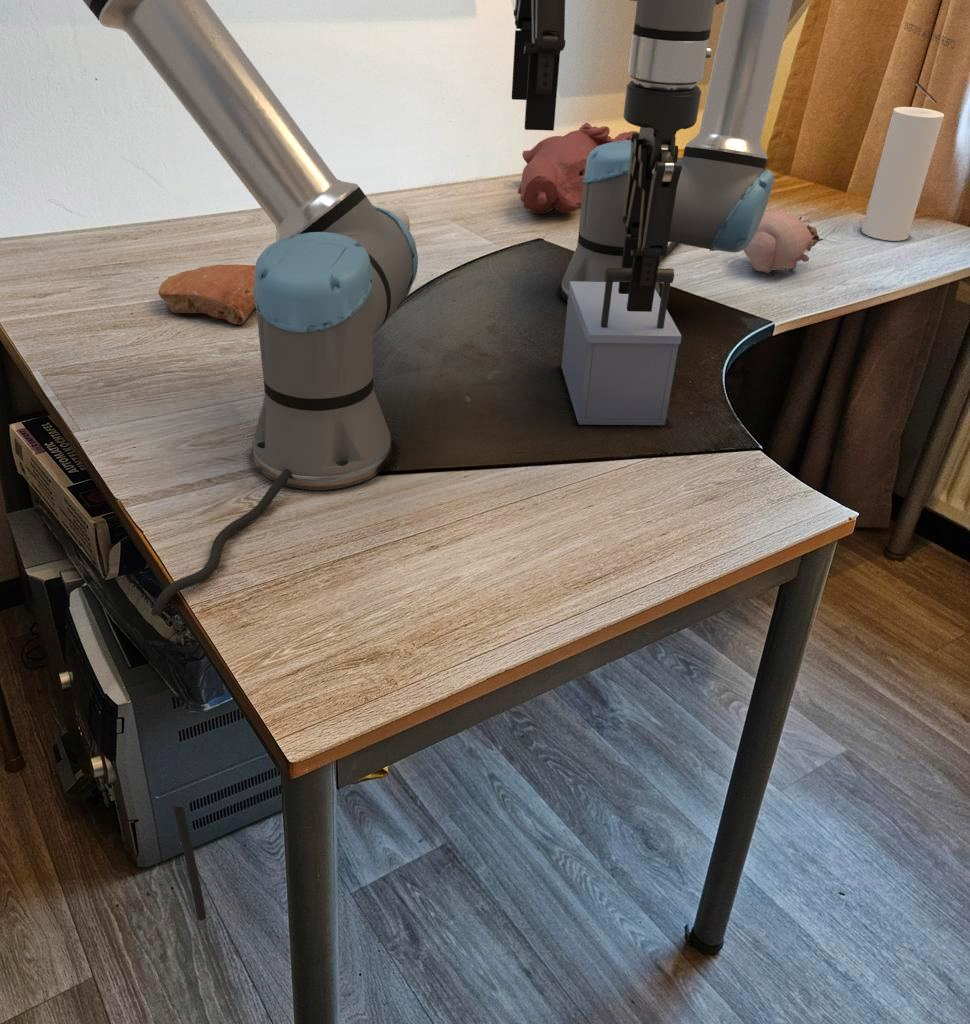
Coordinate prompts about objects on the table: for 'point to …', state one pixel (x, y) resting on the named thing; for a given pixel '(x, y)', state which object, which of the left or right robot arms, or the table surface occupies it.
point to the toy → (781, 242)
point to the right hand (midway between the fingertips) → (634, 300)
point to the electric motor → (402, 216)
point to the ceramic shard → (212, 291)
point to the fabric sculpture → (561, 168)
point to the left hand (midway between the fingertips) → (531, 113)
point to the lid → (623, 311)
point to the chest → (616, 377)
